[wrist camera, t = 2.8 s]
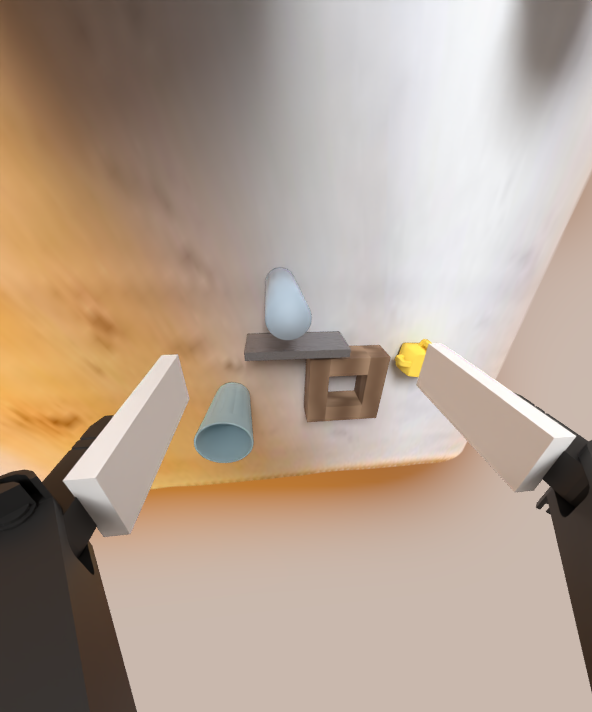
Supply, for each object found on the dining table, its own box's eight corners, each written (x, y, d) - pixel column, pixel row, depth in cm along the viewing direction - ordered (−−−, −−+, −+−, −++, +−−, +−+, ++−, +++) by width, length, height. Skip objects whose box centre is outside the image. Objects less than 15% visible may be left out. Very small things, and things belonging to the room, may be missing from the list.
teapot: (440, 335, 40) (462, 349, 36) (427, 365, 43) (446, 382, 38) (395, 331, 39) (412, 346, 34) (385, 363, 42) (399, 380, 37)
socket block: (303, 406, 44) (307, 422, 41) (306, 347, 38) (310, 360, 35) (367, 402, 45) (376, 417, 42) (379, 345, 40) (390, 357, 36)
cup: (199, 392, 40) (180, 442, 31) (234, 368, 39) (225, 413, 30) (231, 418, 44) (222, 470, 35) (264, 397, 42) (264, 445, 33)
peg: (266, 297, 34) (266, 340, 22) (265, 267, 32) (264, 296, 20) (294, 297, 34) (310, 339, 22) (295, 267, 32) (312, 295, 20)
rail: (248, 341, 37) (245, 361, 32) (247, 333, 36) (244, 352, 31) (338, 338, 38) (349, 357, 33) (339, 331, 38) (351, 349, 32)
